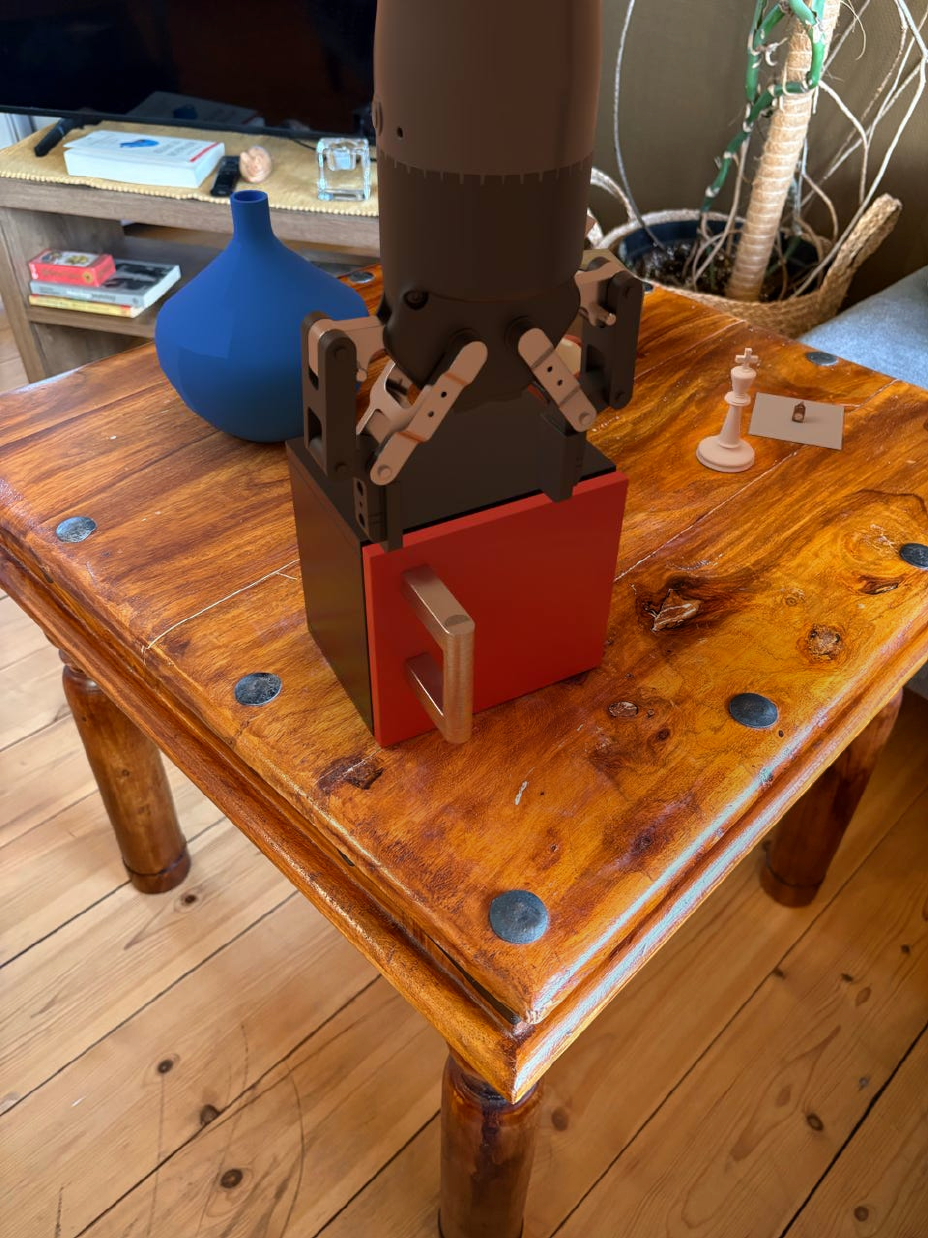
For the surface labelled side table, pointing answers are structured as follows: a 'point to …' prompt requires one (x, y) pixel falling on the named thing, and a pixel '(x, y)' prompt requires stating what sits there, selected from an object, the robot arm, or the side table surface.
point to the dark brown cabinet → (408, 517)
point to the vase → (248, 329)
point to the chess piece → (732, 424)
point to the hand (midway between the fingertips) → (472, 516)
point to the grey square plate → (797, 420)
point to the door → (490, 608)
